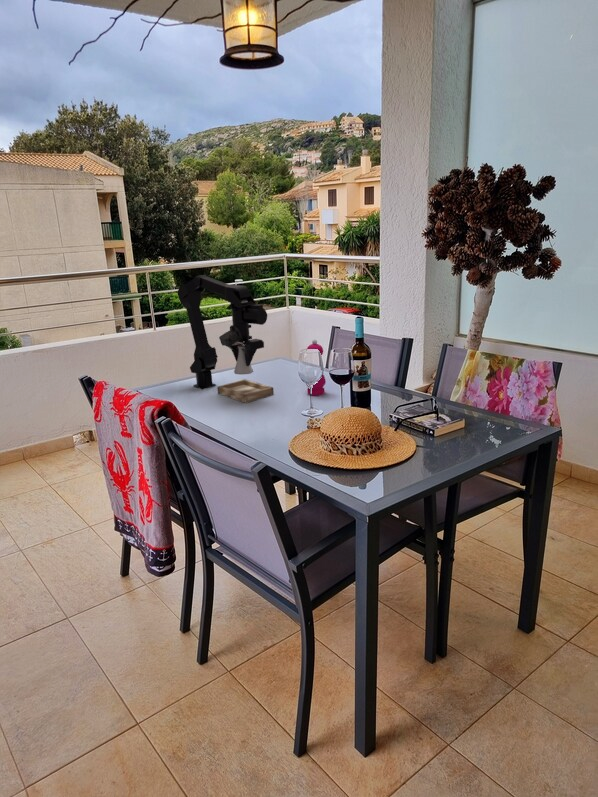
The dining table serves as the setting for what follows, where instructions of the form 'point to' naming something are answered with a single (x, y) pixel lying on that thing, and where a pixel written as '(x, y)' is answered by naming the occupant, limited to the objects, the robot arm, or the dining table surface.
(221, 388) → the serving tray
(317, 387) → the pepper mill
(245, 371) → the flask
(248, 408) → the dining table surface
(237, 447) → the dining table surface
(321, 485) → the dining table surface
